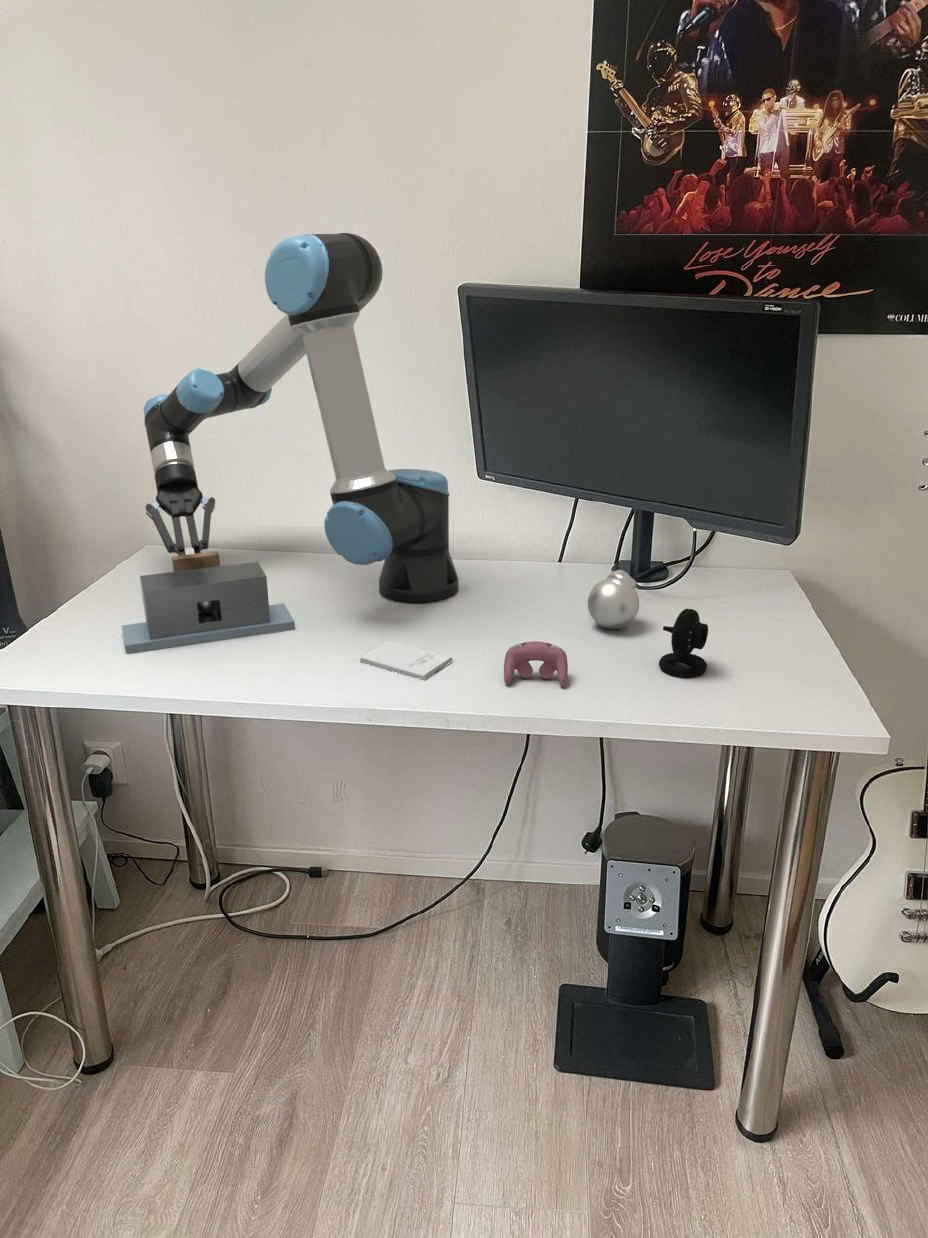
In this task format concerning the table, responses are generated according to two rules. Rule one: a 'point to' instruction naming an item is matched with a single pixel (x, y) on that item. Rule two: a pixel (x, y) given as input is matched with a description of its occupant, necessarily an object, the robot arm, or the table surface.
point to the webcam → (686, 645)
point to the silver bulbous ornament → (614, 601)
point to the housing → (185, 624)
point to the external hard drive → (405, 659)
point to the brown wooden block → (197, 563)
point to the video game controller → (536, 651)
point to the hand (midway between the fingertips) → (194, 583)
